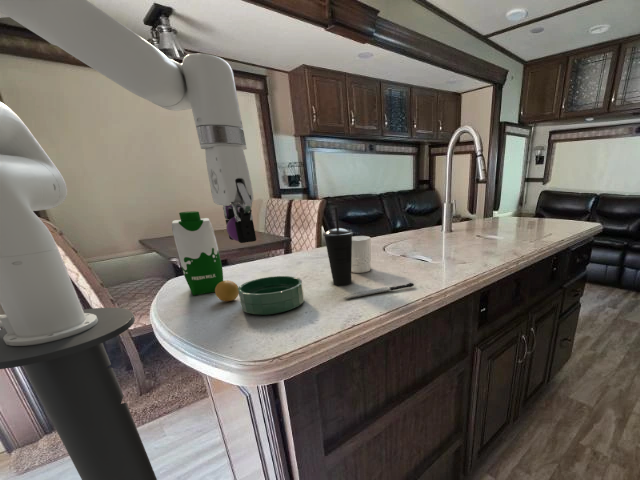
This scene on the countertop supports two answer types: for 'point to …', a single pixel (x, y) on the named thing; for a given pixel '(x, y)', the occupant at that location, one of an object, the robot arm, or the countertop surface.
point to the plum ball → (232, 229)
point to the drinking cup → (339, 253)
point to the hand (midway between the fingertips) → (242, 239)
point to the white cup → (361, 254)
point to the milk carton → (197, 252)
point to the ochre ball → (226, 291)
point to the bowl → (271, 295)
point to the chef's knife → (380, 290)
